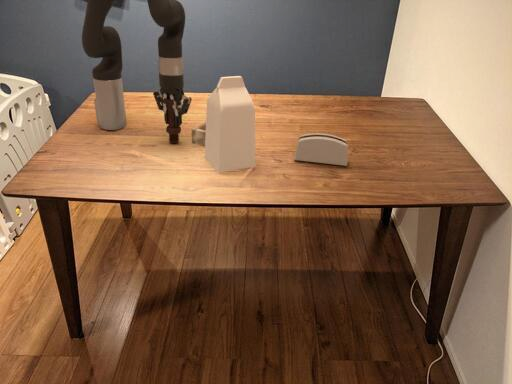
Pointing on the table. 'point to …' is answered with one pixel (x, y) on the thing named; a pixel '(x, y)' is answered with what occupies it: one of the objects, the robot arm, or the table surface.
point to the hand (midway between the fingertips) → (173, 124)
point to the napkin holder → (322, 149)
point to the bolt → (172, 122)
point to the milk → (230, 126)
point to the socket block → (199, 134)
